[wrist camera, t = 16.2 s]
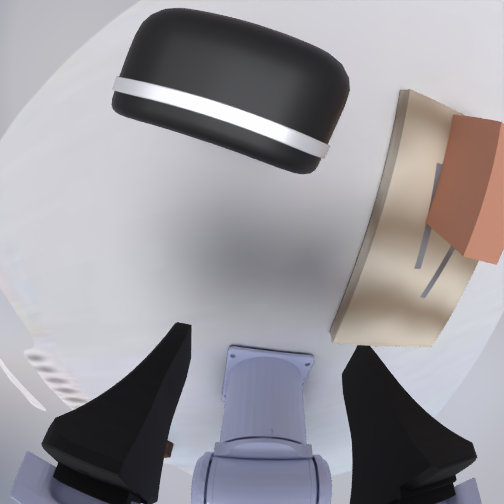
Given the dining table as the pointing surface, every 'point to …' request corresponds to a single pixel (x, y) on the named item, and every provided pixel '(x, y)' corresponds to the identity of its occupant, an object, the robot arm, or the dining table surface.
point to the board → (405, 242)
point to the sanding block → (472, 189)
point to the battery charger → (233, 86)
